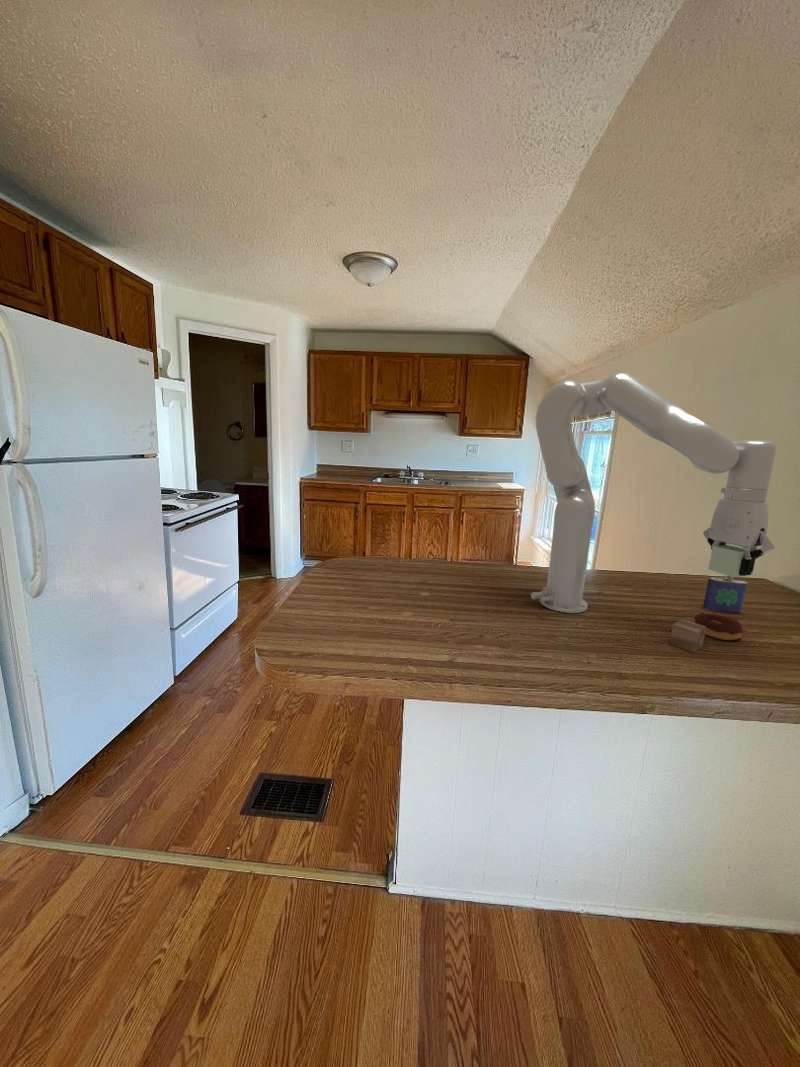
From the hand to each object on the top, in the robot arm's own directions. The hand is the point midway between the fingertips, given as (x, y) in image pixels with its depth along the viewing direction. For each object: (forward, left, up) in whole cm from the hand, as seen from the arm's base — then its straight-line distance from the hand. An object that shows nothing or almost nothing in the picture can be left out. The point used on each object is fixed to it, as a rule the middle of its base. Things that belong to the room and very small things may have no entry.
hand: (730, 569), depth 102 cm
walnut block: (-14, -3, -16) cm, 22 cm away
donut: (0, 0, -17) cm, 17 cm away
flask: (+15, +10, -16) cm, 24 cm away
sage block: (0, 0, -1) cm, 1 cm away
